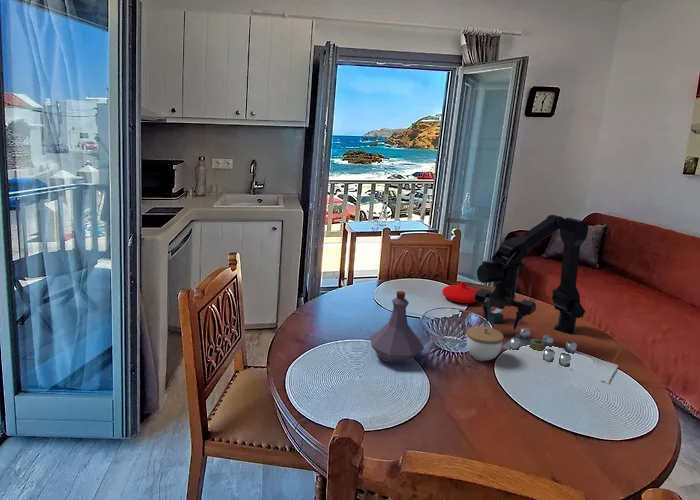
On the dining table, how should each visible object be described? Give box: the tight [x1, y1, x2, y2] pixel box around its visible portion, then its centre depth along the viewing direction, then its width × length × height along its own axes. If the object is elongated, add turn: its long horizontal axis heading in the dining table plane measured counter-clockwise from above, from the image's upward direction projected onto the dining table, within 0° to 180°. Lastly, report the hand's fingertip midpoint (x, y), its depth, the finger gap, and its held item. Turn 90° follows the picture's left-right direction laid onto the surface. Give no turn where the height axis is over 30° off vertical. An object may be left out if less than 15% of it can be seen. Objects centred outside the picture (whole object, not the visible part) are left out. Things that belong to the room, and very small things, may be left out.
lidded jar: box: [465, 325, 505, 362], centre depth 146 cm, size 11×11×9 cm
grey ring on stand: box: [482, 308, 504, 324], centre depth 174 cm, size 6×8×11 cm
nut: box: [529, 338, 546, 351], centre depth 154 cm, size 5×4×3 cm
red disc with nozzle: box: [441, 281, 479, 304], centre depth 195 cm, size 16×16×7 cm
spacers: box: [509, 327, 578, 367], centre depth 152 cm, size 14×18×3 cm
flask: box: [369, 290, 425, 364], centre depth 142 cm, size 16×16×20 cm
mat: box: [501, 333, 619, 383], centre depth 150 cm, size 14×31×1 cm, turn 52°
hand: (500, 325), depth 160 cm, fingers open, 9 cm apart
